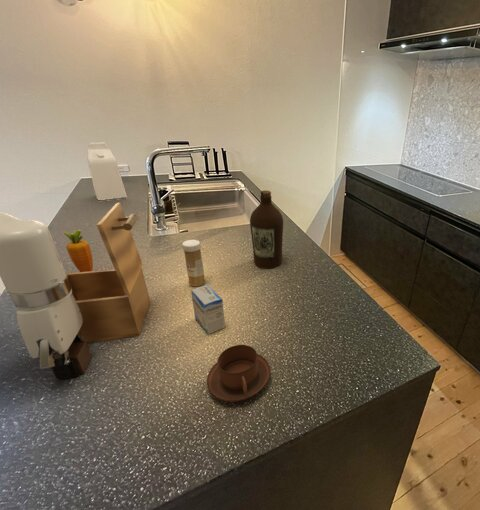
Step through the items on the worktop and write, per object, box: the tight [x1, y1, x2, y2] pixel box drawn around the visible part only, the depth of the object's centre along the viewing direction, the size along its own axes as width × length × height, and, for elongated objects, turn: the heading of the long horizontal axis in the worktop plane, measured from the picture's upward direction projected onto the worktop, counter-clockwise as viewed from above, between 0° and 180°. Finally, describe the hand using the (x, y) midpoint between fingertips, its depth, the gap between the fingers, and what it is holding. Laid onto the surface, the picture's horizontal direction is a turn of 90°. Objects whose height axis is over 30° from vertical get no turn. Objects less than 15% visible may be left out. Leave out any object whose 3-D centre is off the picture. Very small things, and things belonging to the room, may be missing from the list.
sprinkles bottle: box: [181, 239, 206, 287], centre depth 88 cm, size 5×5×13 cm
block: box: [50, 341, 93, 379], centre depth 60 cm, size 4×4×4 cm
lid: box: [96, 202, 144, 295], centre depth 68 cm, size 16×14×4 cm
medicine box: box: [190, 284, 226, 335], centre depth 74 cm, size 8×4×9 cm, turn 44°
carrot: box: [63, 229, 94, 272], centre depth 87 cm, size 5×5×15 cm
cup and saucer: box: [206, 344, 271, 403], centre depth 60 cm, size 12×12×6 cm
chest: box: [65, 267, 151, 344], centre depth 71 cm, size 16×14×11 cm
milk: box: [86, 142, 128, 201], centre depth 149 cm, size 12×12×26 cm
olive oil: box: [249, 190, 284, 269], centre depth 101 cm, size 11×11×25 cm
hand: (74, 366), depth 61 cm, fingers closed on block, 4 cm apart
